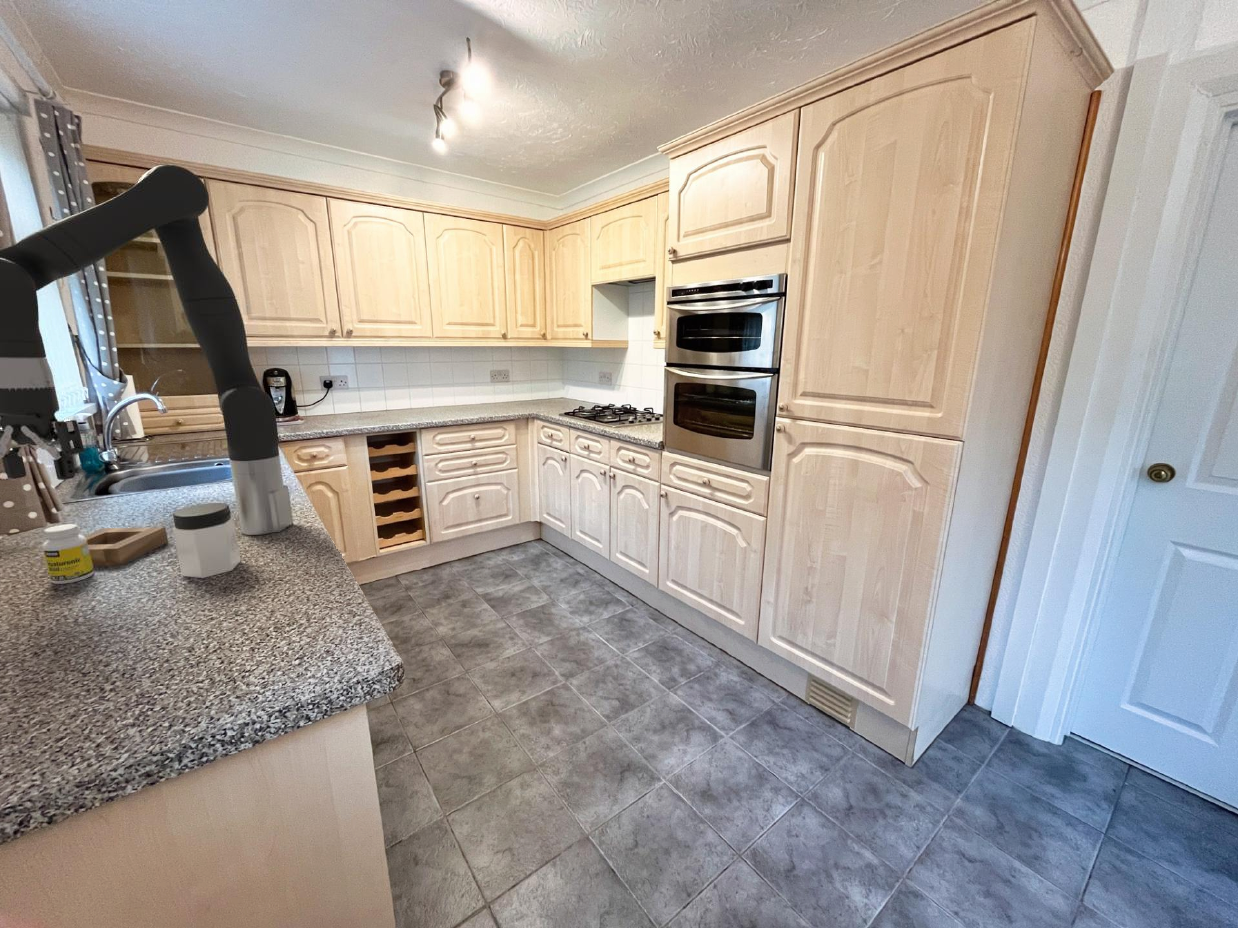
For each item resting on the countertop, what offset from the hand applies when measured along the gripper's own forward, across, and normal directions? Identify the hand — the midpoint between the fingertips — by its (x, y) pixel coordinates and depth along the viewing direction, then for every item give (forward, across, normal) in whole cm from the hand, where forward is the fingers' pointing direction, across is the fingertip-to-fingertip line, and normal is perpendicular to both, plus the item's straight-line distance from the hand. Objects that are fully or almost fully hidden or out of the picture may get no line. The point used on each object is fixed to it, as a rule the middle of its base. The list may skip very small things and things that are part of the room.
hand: (41, 478), depth 87 cm
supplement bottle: (+19, -2, 0) cm, 19 cm away
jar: (+18, -24, -4) cm, 30 cm away
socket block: (+19, +1, -10) cm, 21 cm away
